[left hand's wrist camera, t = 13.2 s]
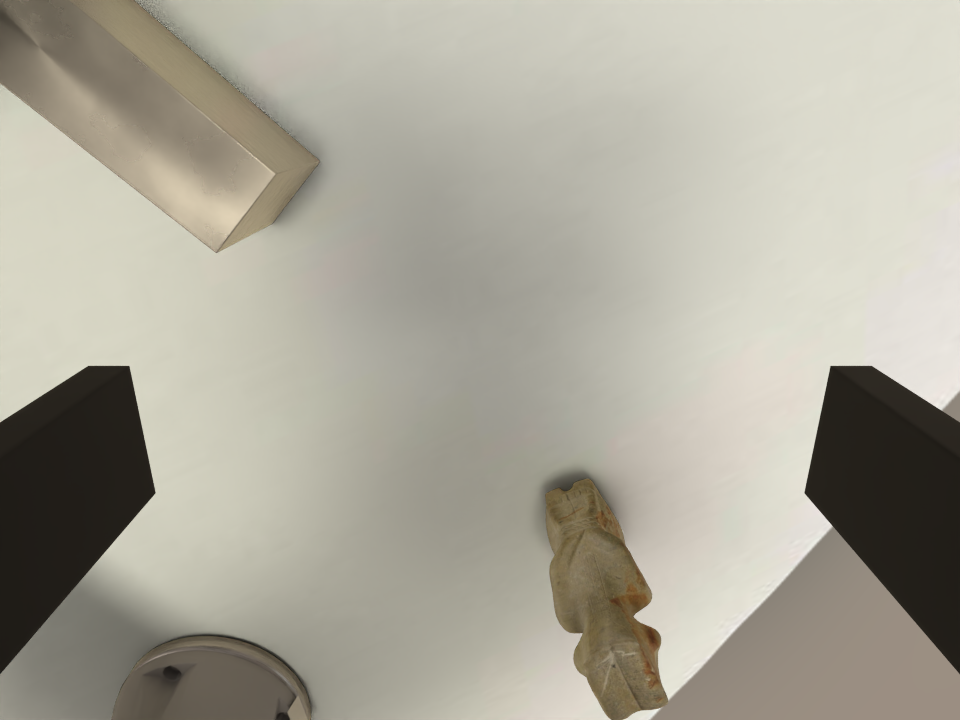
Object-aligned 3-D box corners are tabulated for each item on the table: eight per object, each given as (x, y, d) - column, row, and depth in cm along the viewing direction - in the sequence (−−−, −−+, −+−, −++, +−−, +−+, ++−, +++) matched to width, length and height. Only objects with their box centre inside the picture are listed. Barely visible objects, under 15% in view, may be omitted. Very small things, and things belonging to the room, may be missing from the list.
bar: (320, 161, 38) (276, 174, 30) (271, 224, 40) (216, 253, 32) (-19, -132, 33) (-184, -214, 25) (-62, -48, 35) (-233, -99, 26)
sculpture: (556, 561, 49) (587, 743, 34) (526, 483, 46) (546, 644, 32) (631, 540, 48) (694, 716, 34) (604, 459, 45) (661, 613, 31)
